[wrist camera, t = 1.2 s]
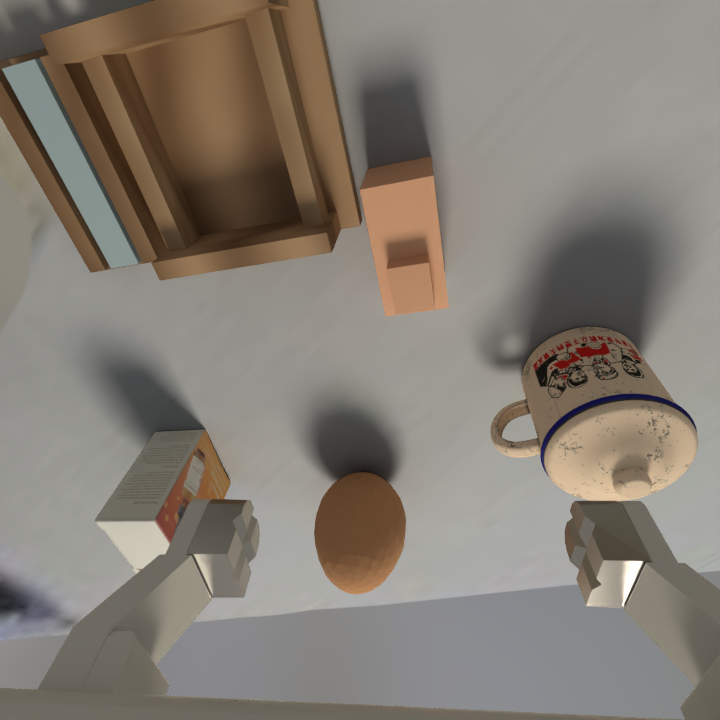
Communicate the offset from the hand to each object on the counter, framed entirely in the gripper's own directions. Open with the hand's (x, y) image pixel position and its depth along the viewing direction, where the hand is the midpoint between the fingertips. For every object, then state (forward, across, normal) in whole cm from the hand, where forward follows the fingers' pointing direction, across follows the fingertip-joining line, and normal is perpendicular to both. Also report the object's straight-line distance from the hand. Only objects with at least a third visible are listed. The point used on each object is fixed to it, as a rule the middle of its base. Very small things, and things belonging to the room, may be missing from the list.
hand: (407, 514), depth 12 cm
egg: (+24, +4, +26) cm, 35 cm away
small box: (+25, +21, +23) cm, 40 cm away
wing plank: (+22, +20, -5) cm, 30 cm away
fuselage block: (+23, -1, 0) cm, 23 cm away
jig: (+23, +13, -6) cm, 28 cm away
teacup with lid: (+23, -12, +12) cm, 29 cm away
